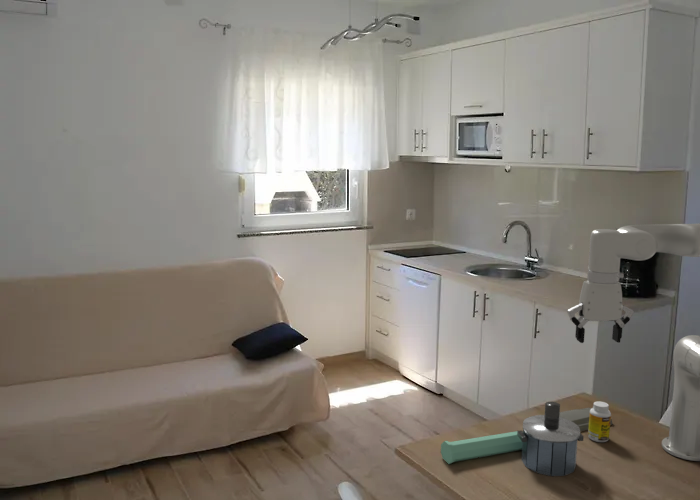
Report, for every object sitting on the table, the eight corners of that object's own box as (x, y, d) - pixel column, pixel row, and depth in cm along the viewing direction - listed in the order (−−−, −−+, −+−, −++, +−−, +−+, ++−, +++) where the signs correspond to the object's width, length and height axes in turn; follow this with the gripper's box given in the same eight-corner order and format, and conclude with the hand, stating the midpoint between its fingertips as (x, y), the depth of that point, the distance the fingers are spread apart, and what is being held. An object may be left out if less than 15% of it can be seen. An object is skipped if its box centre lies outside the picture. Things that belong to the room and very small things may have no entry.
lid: (567, 418, 173) (568, 393, 172) (589, 442, 160) (591, 415, 158) (515, 419, 173) (516, 394, 171) (533, 443, 159) (534, 416, 158)
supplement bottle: (600, 445, 178) (603, 409, 176) (583, 437, 182) (586, 402, 181) (613, 439, 181) (616, 405, 179) (596, 432, 185) (598, 398, 184)
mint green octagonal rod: (524, 423, 177) (443, 436, 168) (536, 439, 173) (453, 453, 164) (518, 438, 180) (438, 451, 171) (529, 455, 176) (448, 469, 167)
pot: (568, 450, 174) (570, 418, 173) (588, 475, 162) (591, 441, 160) (510, 451, 174) (512, 419, 172) (526, 476, 161) (528, 442, 159)
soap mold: (613, 426, 191) (614, 415, 190) (559, 438, 183) (559, 426, 182) (588, 412, 200) (588, 402, 199) (535, 423, 192) (536, 412, 192)
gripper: (628, 274, 171) (623, 336, 174) (564, 274, 170) (560, 337, 173) (642, 280, 164) (637, 345, 167) (575, 280, 163) (571, 346, 166)
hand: (598, 341), depth 170 cm, fingers open, 9 cm apart
